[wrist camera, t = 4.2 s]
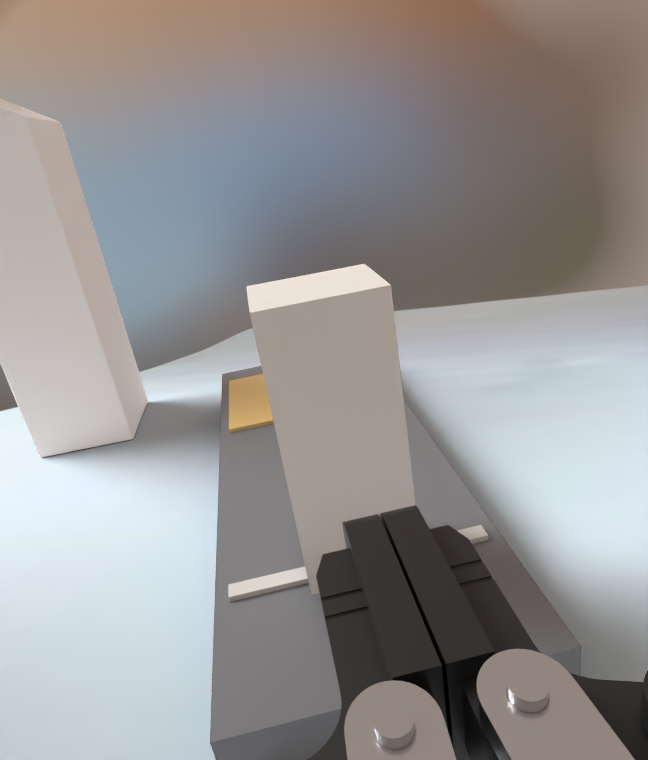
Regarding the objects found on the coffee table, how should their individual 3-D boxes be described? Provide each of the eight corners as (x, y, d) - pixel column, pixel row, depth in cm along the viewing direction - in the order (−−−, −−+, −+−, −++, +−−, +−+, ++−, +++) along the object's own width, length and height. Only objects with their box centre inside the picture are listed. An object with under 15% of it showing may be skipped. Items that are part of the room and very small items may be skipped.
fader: (311, 595, 17) (249, 312, 14) (300, 534, 20) (246, 286, 17) (422, 568, 18) (390, 285, 14) (396, 512, 20) (364, 263, 17)
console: (227, 791, 15) (208, 737, 14) (228, 400, 39) (221, 371, 38) (579, 697, 16) (581, 641, 15) (368, 371, 40) (364, 342, 39)
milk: (148, 402, 41) (46, 62, 32) (133, 441, 35) (4, 43, 27) (64, 418, 41) (-62, 78, 32) (36, 460, 35) (-126, 62, 26)
